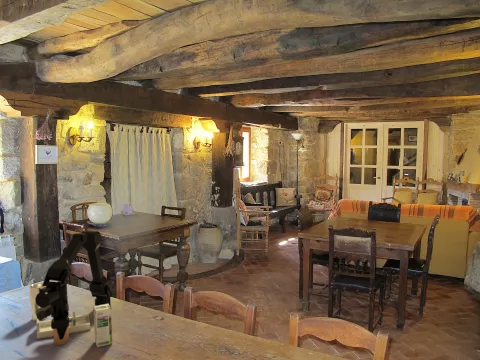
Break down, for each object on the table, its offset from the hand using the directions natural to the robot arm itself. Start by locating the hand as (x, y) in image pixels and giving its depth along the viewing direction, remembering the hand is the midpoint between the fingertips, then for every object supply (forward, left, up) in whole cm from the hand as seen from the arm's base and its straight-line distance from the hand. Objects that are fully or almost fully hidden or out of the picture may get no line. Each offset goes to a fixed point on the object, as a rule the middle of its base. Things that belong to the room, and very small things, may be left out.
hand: (61, 336), depth 162 cm
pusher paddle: (-3, -11, -1) cm, 12 cm away
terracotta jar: (0, 0, -2) cm, 2 cm away
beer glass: (+9, -27, -2) cm, 29 cm away
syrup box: (-15, +8, -2) cm, 17 cm away
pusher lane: (-1, -12, -2) cm, 12 cm away
